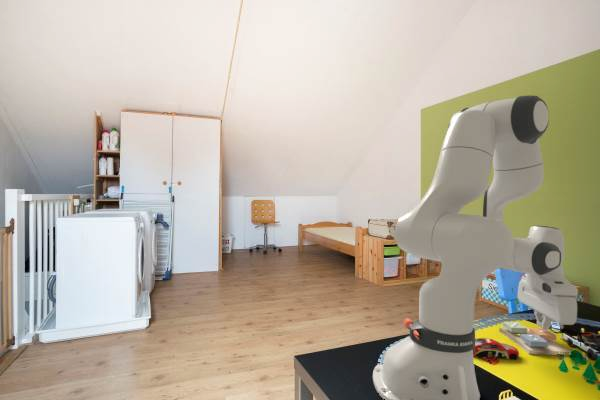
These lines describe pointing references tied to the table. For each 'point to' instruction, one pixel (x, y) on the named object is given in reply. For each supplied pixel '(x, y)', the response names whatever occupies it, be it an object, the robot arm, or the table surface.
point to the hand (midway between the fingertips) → (543, 327)
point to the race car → (494, 349)
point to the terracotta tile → (543, 334)
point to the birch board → (550, 350)
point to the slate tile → (534, 340)
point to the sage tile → (515, 327)
